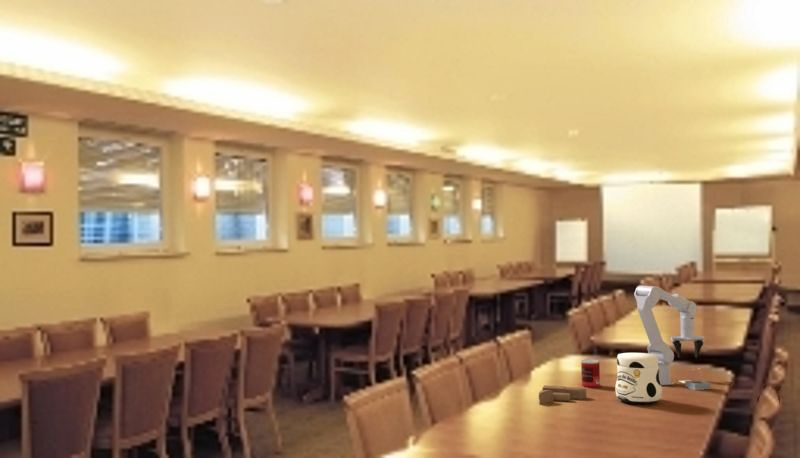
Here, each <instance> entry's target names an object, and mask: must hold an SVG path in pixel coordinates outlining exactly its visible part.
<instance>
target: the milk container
mask: <svg viewBox="0 0 800 458" xmlns="http://www.w3.org/2000/svg"><path fill="white" fill-rule="evenodd" d="M616 364H617V365H616V369H617V373H616V374H617V378H616V382H615V387H614V388H615V395H616V397H617V398H618V400H620V401H622V402H625V403H629V404H636V405H638V404H639V405H644V404H645V405H647V404H648V405H649V404H654V403H658V402H659V401H660V400H661V399H662V392H663V389H662V385H661V384H660V381H659V361H658V356H657V355H653V354H648V352H623V353H618V354H617V357H616Z"/></svg>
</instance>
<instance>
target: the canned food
mask: <svg viewBox="0 0 800 458" xmlns="http://www.w3.org/2000/svg"><path fill="white" fill-rule="evenodd" d="M580 367H581V385H582V387H583V386H584V387H583V388H587V387H588V388H589V389H596V388H599V387H600V386H601V382H600V381H601V379H600V377H601V375H600V374H601V373H600V372H601V371H600V369H601V368H600V360H598V359H591V358H590V359H589V358H587V359H582V360H581V366H580Z"/></svg>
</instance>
